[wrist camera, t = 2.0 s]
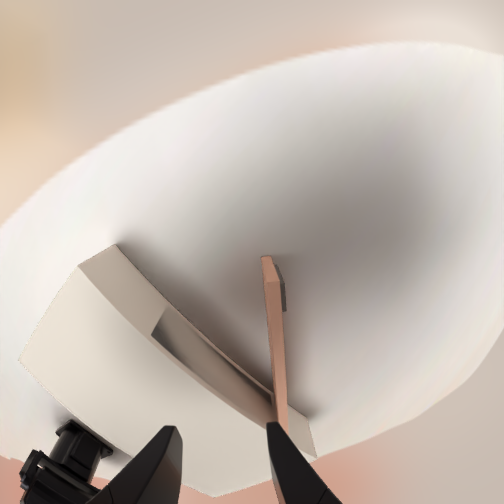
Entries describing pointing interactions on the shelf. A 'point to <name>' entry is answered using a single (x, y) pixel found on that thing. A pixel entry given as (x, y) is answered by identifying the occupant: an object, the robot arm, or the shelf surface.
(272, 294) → the side door
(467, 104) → the shelf surface
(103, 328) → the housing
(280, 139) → the shelf surface
